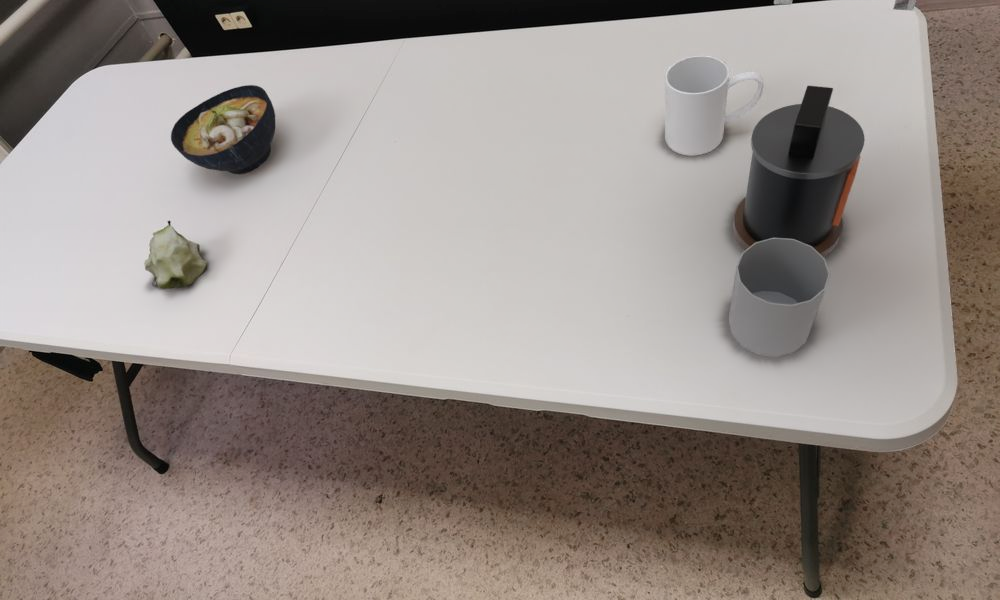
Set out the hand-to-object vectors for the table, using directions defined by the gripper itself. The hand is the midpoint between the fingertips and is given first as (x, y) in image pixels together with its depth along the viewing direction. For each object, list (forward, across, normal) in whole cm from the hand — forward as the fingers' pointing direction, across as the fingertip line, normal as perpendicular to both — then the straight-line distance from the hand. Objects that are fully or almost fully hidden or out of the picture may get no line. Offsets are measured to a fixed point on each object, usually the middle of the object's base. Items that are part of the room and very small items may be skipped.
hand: (841, 3), depth 54 cm
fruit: (+28, -80, -33) cm, 91 cm away
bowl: (+28, -87, -9) cm, 92 cm away
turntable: (+28, 0, -2) cm, 28 cm away
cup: (+28, +1, -16) cm, 32 cm away
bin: (+26, 0, -2) cm, 26 cm away
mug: (+28, -13, +12) cm, 33 cm away
